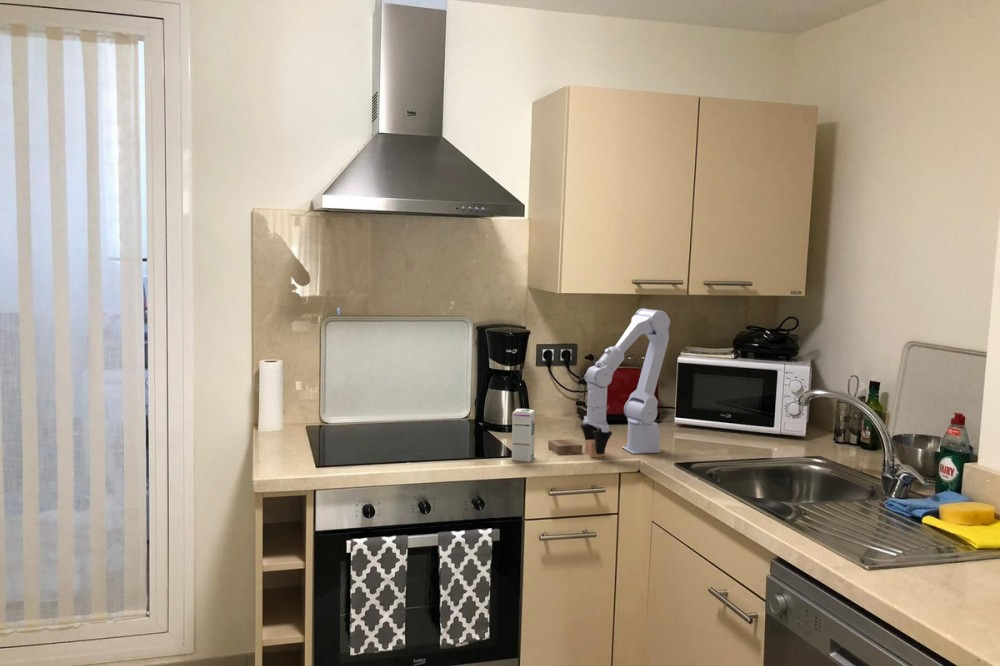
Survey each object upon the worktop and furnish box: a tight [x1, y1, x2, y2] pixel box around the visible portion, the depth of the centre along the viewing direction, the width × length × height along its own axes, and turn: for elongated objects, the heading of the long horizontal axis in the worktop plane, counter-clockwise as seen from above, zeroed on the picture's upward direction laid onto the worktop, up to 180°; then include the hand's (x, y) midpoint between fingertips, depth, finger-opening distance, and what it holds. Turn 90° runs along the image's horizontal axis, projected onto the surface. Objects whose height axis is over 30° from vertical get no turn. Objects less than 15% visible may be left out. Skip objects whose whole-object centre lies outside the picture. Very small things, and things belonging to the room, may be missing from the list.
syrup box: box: [511, 408, 536, 463], centre depth 244 cm, size 6×6×14 cm
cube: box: [584, 439, 606, 458], centre depth 251 cm, size 4×4×4 cm
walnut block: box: [547, 438, 583, 455], centre depth 256 cm, size 8×8×3 cm
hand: (595, 450), depth 251 cm, fingers open, 7 cm apart
